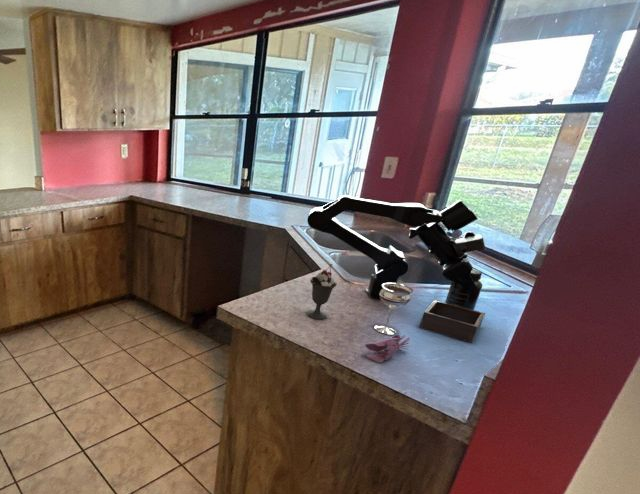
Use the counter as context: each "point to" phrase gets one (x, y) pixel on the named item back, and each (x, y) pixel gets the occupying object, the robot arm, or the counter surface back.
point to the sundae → (321, 292)
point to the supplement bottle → (465, 292)
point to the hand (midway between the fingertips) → (473, 285)
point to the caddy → (452, 320)
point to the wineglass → (393, 302)
